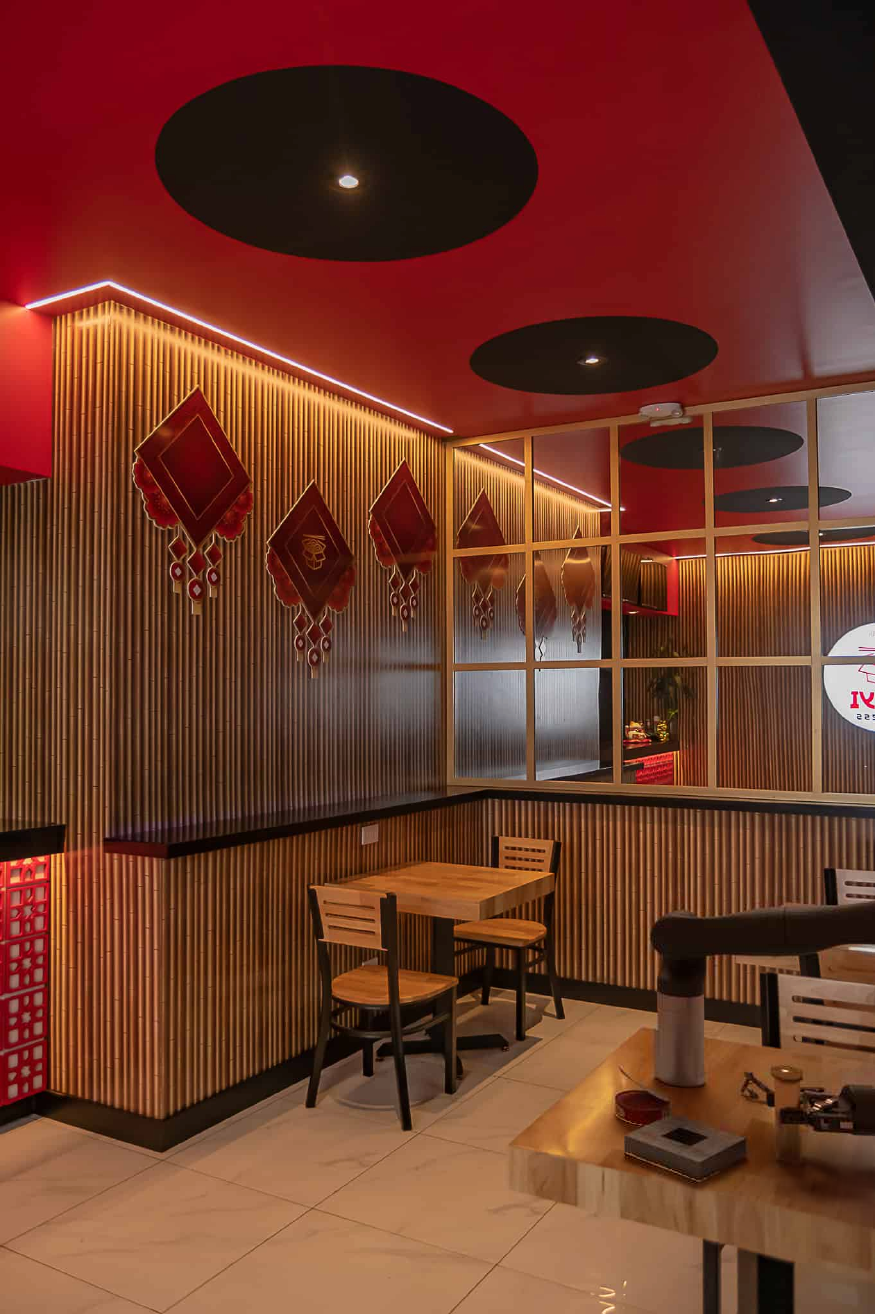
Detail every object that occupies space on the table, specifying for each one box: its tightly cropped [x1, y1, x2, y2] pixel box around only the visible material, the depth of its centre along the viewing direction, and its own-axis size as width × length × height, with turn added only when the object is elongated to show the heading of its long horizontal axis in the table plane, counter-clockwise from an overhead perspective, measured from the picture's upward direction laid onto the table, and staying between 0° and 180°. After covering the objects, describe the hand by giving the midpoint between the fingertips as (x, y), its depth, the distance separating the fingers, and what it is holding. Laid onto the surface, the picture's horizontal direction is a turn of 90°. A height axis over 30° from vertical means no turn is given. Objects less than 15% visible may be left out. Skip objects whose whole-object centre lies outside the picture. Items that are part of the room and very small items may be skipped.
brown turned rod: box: [740, 1071, 774, 1099], centre depth 183 cm, size 2×8×4 cm, turn 47°
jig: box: [623, 1113, 747, 1181], centre depth 157 cm, size 14×14×3 cm
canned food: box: [614, 1066, 671, 1125], centre depth 174 cm, size 11×10×10 cm
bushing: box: [770, 1064, 804, 1165], centre depth 156 cm, size 5×5×14 cm
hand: (773, 1107), depth 157 cm, fingers open, 7 cm apart
